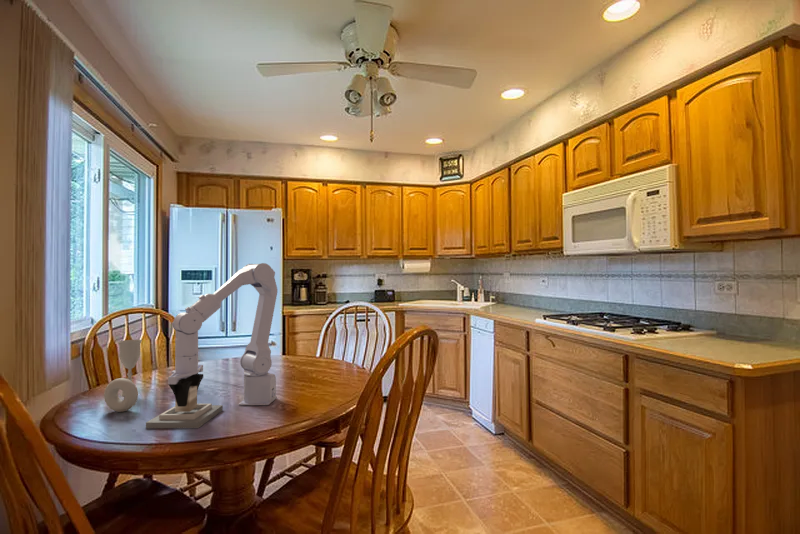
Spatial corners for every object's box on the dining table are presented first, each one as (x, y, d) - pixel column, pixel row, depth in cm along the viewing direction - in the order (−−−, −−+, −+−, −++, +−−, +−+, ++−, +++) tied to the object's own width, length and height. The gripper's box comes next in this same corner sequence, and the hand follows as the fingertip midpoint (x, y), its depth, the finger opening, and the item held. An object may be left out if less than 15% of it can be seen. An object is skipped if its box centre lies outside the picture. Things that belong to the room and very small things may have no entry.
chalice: (112, 395, 135) (112, 342, 136) (132, 390, 142) (132, 339, 142) (126, 397, 133) (127, 343, 133) (146, 392, 139) (146, 340, 139)
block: (197, 406, 115) (197, 385, 115) (189, 411, 111) (189, 389, 111) (183, 406, 115) (183, 385, 115) (175, 411, 111) (175, 389, 111)
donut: (100, 413, 118) (101, 379, 118) (110, 409, 121) (110, 376, 122) (131, 414, 117) (132, 379, 117) (140, 410, 120) (141, 376, 120)
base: (222, 410, 120) (222, 401, 120) (198, 428, 106) (198, 417, 106) (176, 410, 120) (176, 401, 120) (145, 428, 106) (145, 417, 106)
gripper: (186, 350, 120) (186, 395, 120) (156, 360, 106) (156, 412, 106) (210, 350, 120) (209, 395, 120) (183, 360, 106) (182, 412, 105)
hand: (186, 403), depth 113 cm, fingers closed on block, 4 cm apart
